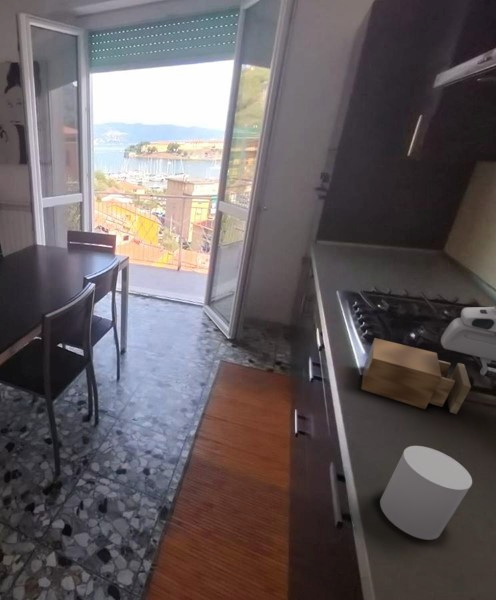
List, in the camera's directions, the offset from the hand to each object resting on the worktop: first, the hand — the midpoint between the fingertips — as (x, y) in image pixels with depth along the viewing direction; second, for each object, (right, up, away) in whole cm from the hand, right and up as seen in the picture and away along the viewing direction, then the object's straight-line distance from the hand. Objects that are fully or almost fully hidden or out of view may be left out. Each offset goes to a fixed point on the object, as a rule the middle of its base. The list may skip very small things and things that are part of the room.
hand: (488, 375), depth 82 cm
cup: (-37, -20, -21) cm, 47 cm away
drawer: (-9, -6, +6) cm, 12 cm away
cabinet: (-14, -5, +10) cm, 18 cm away
